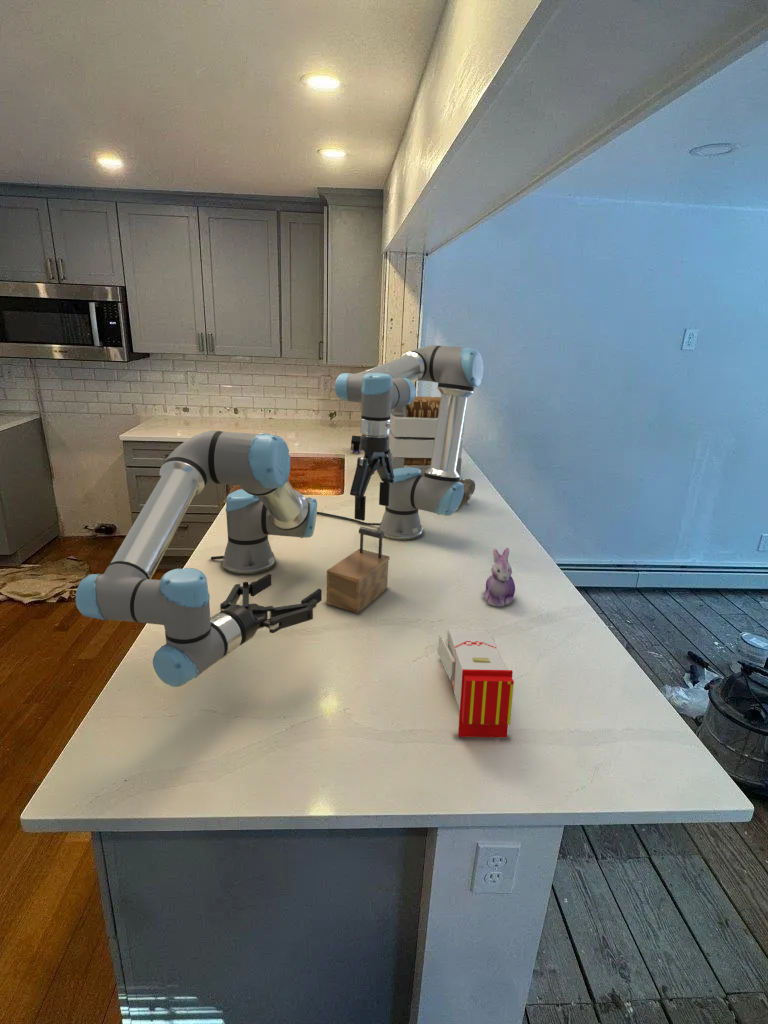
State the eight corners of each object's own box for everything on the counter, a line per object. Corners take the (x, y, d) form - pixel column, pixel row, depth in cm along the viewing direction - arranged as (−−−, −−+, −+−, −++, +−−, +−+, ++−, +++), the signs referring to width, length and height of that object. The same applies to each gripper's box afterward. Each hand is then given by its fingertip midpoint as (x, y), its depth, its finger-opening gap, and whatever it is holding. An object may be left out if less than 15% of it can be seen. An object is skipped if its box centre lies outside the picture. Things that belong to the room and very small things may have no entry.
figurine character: (362, 457, 305) (363, 447, 318) (362, 443, 301) (363, 434, 315) (350, 456, 304) (351, 447, 318) (350, 443, 301) (351, 434, 314)
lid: (359, 551, 162) (360, 523, 159) (389, 559, 158) (391, 530, 155) (326, 573, 148) (326, 543, 145) (359, 583, 144) (360, 551, 141)
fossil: (439, 484, 243) (468, 465, 238) (451, 501, 246) (481, 483, 241) (438, 506, 224) (470, 486, 219) (452, 524, 226) (484, 505, 221)
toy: (488, 613, 130) (523, 677, 101) (484, 667, 133) (517, 744, 104) (435, 612, 130) (455, 676, 101) (432, 666, 133) (451, 743, 103)
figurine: (497, 611, 151) (503, 559, 146) (474, 594, 159) (479, 545, 154) (524, 604, 155) (532, 554, 150) (501, 588, 163) (507, 540, 158)
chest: (357, 580, 165) (357, 552, 162) (387, 588, 161) (388, 560, 158) (326, 603, 151) (326, 574, 148) (358, 613, 147) (359, 583, 144)
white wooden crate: (382, 463, 289) (386, 382, 275) (445, 464, 293) (451, 384, 279) (390, 482, 257) (394, 392, 243) (460, 483, 261) (468, 394, 247)
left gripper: (182, 628, 115) (251, 588, 133) (281, 666, 104) (342, 616, 122) (179, 595, 112) (250, 558, 130) (280, 631, 102) (342, 585, 120)
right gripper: (364, 445, 134) (361, 529, 142) (408, 429, 155) (404, 502, 163) (337, 441, 138) (335, 522, 145) (384, 425, 159) (381, 497, 166)
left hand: (294, 586), depth 126 cm, fingers open, 13 cm apart
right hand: (372, 512), depth 154 cm, fingers open, 13 cm apart
